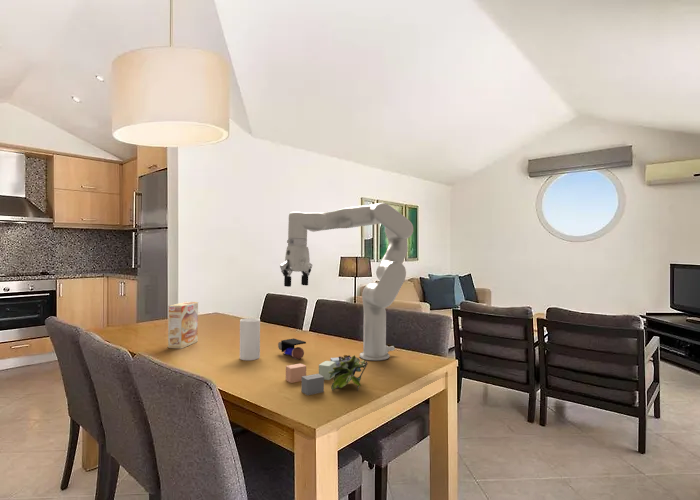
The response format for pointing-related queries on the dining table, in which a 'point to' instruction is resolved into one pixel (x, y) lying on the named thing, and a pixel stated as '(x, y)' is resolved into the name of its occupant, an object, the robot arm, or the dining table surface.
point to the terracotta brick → (295, 372)
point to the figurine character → (291, 347)
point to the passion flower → (347, 371)
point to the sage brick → (326, 369)
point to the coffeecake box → (182, 324)
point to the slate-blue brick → (335, 360)
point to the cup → (249, 339)
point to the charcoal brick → (312, 384)
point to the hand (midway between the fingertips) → (296, 285)
